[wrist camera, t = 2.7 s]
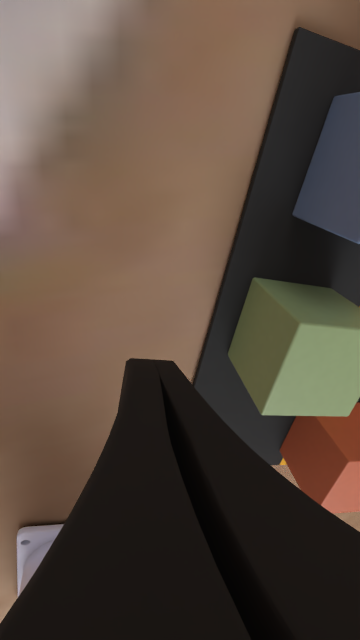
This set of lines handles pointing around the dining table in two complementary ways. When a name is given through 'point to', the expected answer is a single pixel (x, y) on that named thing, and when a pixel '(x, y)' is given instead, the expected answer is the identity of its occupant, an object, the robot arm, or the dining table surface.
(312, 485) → the terracotta block
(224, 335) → the line mat
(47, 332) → the dining table surface
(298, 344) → the sage block
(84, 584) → the robot arm
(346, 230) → the blue block
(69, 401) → the dining table surface
